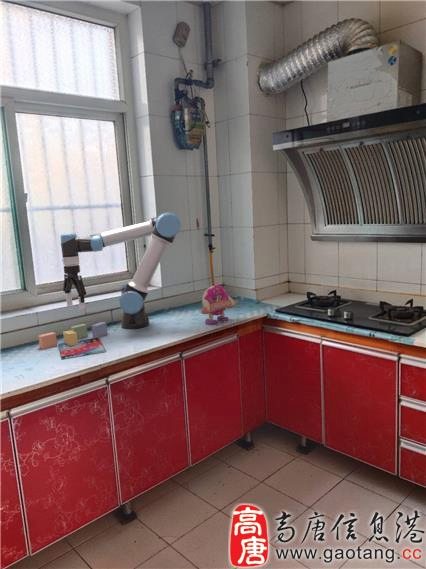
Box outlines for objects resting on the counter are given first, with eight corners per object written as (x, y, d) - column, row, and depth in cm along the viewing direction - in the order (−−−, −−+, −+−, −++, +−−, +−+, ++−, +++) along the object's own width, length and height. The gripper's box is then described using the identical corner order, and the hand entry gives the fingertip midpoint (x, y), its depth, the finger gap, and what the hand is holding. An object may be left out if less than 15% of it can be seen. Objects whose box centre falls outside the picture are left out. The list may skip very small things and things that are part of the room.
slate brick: (101, 333, 226) (100, 322, 225) (107, 333, 224) (106, 322, 223) (92, 337, 220) (91, 325, 219) (98, 337, 218) (96, 326, 217)
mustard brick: (64, 344, 211) (63, 331, 210) (71, 342, 213) (69, 330, 212) (71, 346, 206) (69, 334, 205) (78, 344, 208) (76, 332, 207)
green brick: (84, 335, 225) (83, 323, 224) (87, 336, 222) (86, 324, 221) (71, 338, 220) (70, 326, 219) (75, 339, 217) (73, 327, 216)
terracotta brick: (54, 344, 212) (52, 332, 211) (57, 345, 209) (55, 333, 208) (39, 347, 207) (38, 335, 206) (42, 349, 204) (41, 336, 203)
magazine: (61, 361, 187) (61, 359, 187) (58, 345, 210) (57, 343, 210) (106, 353, 194) (106, 351, 194) (98, 338, 217) (98, 337, 217)
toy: (205, 328, 223) (203, 289, 220) (195, 325, 230) (192, 288, 226) (241, 318, 238) (239, 282, 235) (230, 316, 245) (228, 281, 242)
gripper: (53, 264, 221) (57, 305, 225) (76, 267, 203) (80, 312, 207) (67, 262, 226) (71, 303, 230) (90, 265, 208) (95, 309, 212)
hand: (76, 307), depth 218 cm, fingers open, 13 cm apart
